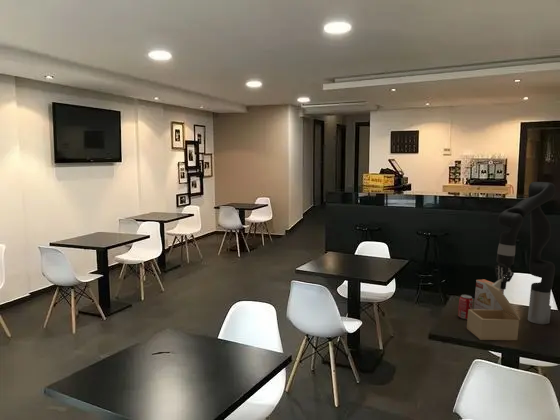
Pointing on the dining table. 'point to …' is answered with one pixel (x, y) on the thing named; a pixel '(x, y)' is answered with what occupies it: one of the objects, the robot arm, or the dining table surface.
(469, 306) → the soda can
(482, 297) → the cracker box
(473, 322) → the carton
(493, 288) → the lid flap
